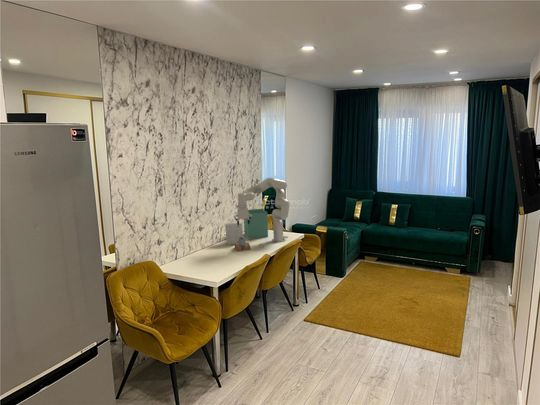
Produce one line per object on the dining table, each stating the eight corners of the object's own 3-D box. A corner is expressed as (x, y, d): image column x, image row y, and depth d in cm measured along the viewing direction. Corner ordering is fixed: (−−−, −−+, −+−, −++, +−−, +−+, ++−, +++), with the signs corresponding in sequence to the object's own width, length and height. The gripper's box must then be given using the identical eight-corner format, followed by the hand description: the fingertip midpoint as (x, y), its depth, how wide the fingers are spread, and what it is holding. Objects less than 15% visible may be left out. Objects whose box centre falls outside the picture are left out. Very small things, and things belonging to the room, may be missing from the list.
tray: (247, 246, 363) (247, 242, 363) (250, 249, 352) (249, 245, 351) (234, 247, 360) (234, 243, 360) (237, 251, 349) (237, 247, 348)
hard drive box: (243, 242, 379) (242, 222, 376) (242, 244, 372) (241, 224, 368) (227, 242, 381) (227, 222, 378) (226, 244, 373) (225, 224, 370)
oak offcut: (247, 245, 369) (247, 242, 369) (249, 246, 366) (249, 242, 365) (243, 245, 367) (243, 242, 366) (246, 246, 364) (245, 243, 363)
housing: (245, 245, 352) (245, 238, 351) (240, 246, 351) (240, 239, 350) (244, 243, 360) (243, 236, 359) (238, 243, 359) (238, 237, 358)
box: (244, 233, 414) (243, 210, 410) (263, 232, 419) (262, 208, 415) (248, 238, 392) (247, 214, 387) (268, 237, 397) (267, 212, 392)
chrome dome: (262, 246, 364) (262, 244, 364) (263, 247, 360) (263, 246, 360) (258, 246, 363) (258, 245, 363) (259, 247, 359) (259, 246, 359)
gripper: (234, 208, 346) (235, 226, 349) (252, 206, 350) (253, 224, 353) (232, 206, 353) (233, 224, 356) (250, 204, 358) (251, 222, 361)
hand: (243, 224), depth 355 cm, fingers open, 9 cm apart
